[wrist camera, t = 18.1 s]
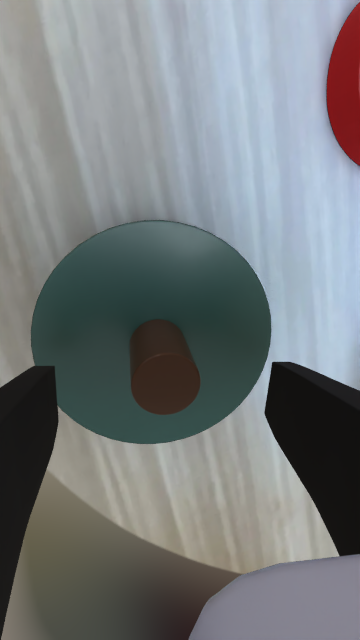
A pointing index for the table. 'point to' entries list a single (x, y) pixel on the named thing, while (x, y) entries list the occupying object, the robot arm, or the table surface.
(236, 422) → the table surface
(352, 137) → the decorative ornament
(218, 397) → the lid
